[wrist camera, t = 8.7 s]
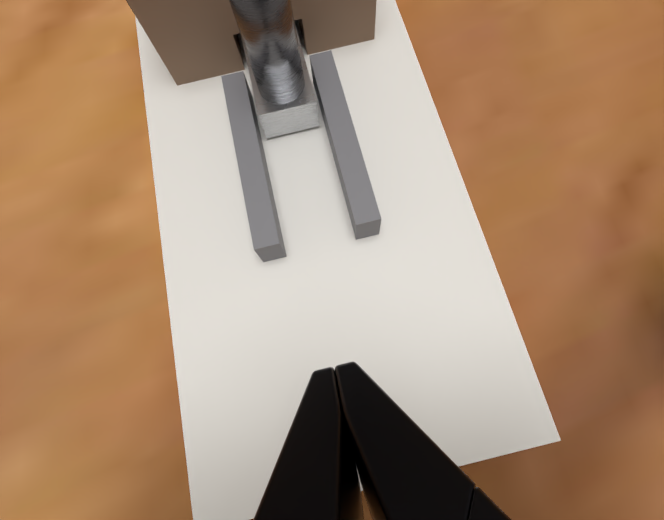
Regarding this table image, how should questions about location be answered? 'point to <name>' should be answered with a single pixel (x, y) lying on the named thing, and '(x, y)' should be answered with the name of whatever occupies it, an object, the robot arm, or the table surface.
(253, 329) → the base
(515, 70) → the table surface
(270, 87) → the bolt
